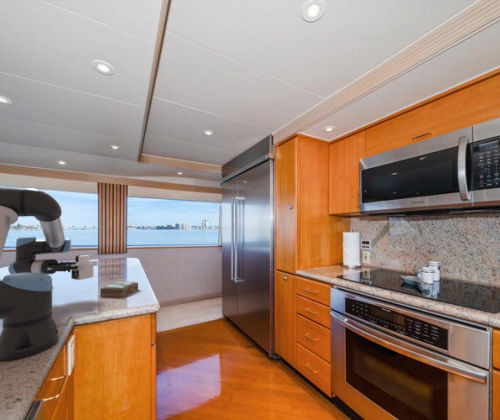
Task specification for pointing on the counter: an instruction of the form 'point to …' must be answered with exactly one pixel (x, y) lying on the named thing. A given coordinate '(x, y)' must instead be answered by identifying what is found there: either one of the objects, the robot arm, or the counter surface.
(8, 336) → the robot arm
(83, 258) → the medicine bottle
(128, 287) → the walnut stand
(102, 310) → the counter surface
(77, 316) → the counter surface
